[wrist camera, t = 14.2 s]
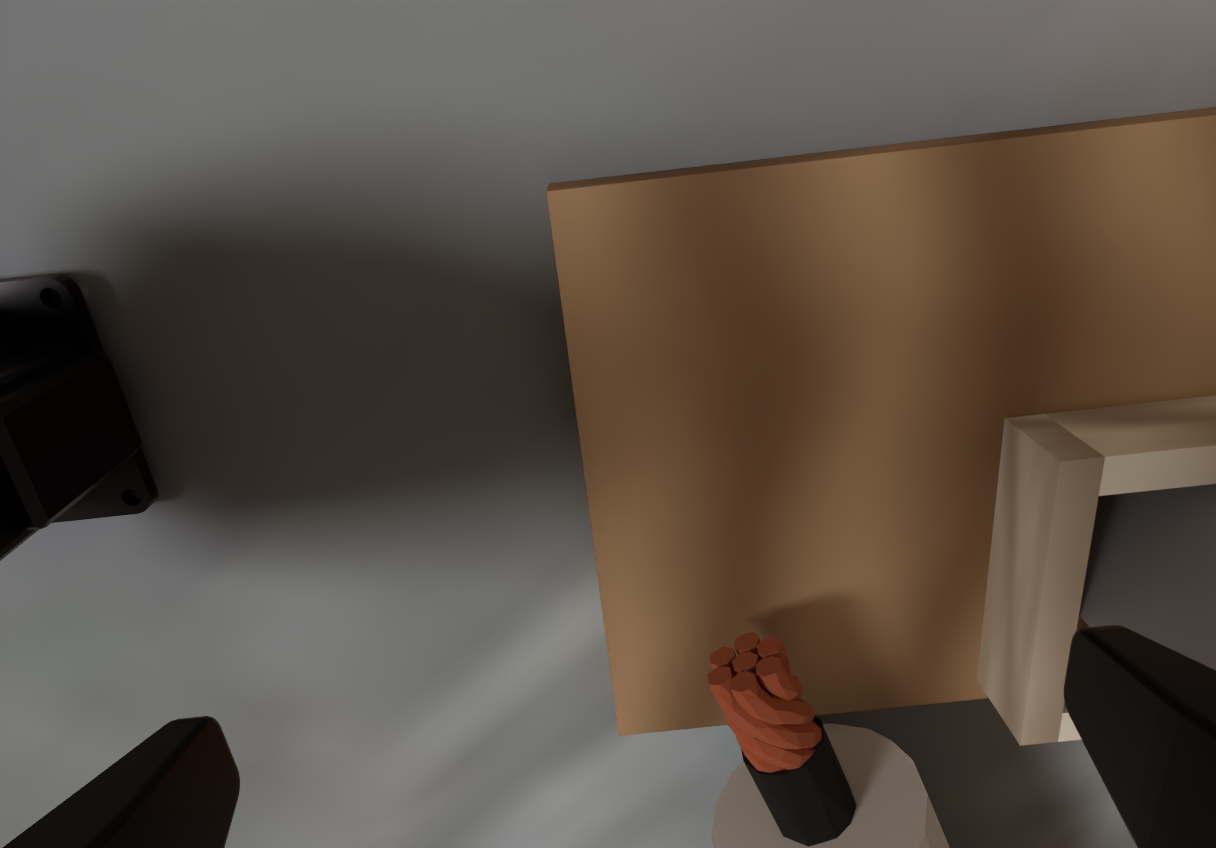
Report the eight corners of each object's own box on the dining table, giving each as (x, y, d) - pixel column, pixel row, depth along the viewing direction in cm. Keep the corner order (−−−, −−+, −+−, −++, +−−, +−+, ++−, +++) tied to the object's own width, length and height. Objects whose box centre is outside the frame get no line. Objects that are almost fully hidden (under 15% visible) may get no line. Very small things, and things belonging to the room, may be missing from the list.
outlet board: (617, 699, 25) (622, 805, 21) (549, 184, 18) (540, 207, 15) (1246, 635, 24) (1362, 732, 21) (1397, 86, 18) (1603, 86, 14)
